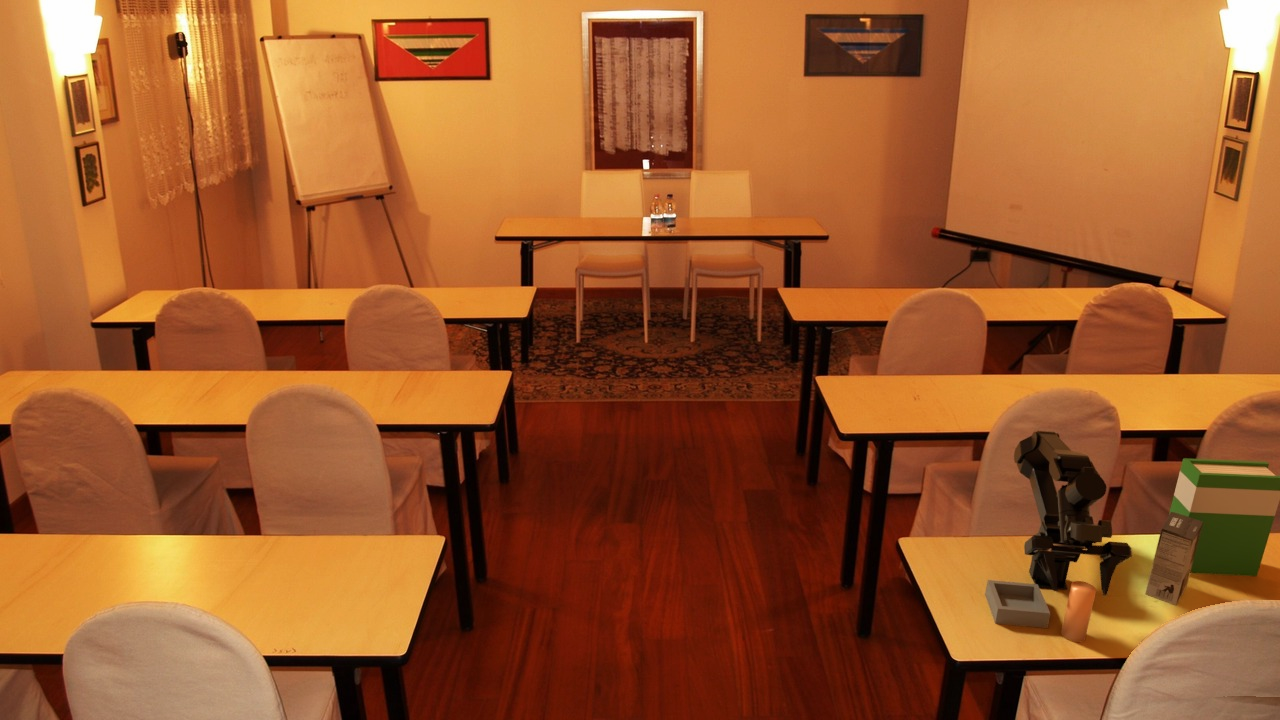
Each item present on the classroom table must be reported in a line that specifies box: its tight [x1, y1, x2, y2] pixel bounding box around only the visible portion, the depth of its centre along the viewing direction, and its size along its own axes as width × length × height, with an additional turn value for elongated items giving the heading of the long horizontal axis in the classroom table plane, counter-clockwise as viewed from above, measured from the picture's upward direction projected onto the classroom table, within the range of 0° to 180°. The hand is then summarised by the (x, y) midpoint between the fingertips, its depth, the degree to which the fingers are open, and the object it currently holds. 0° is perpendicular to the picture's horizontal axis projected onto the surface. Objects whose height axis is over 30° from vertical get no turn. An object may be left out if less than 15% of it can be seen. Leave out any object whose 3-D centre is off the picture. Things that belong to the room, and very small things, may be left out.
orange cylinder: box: [1060, 580, 1097, 643], centre depth 191 cm, size 4×4×11 cm
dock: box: [984, 579, 1051, 629], centre depth 199 cm, size 10×10×4 cm
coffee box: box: [1145, 512, 1203, 606], centre depth 205 cm, size 9×6×16 cm
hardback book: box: [1168, 457, 1280, 577], centre depth 213 cm, size 18×7×24 cm, turn 87°
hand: (1080, 592), depth 190 cm, fingers open, 9 cm apart
